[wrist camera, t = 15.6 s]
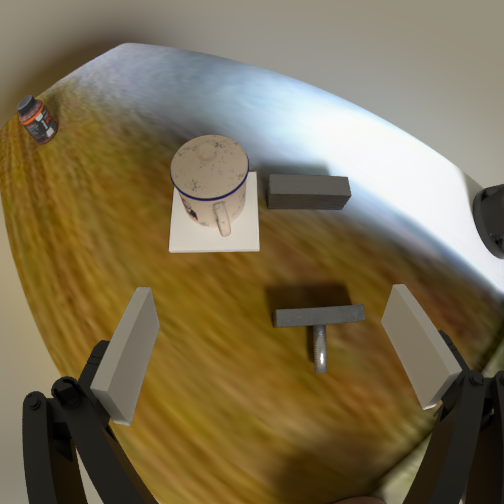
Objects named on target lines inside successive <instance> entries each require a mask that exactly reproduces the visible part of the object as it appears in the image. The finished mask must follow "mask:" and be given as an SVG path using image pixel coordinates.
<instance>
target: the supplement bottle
mask: <svg viewBox="0 0 504 504" xmlns="http://www.w3.org/2000/svg"><path fill="white" fill-rule="evenodd" d="M17 110H18V111H19V113H20V116H19V120H20V122H21V123H22V125H23V126H24V127H25V129H26V130H27V131H28V132H29V134H30V135H31V136H32V137H33V139H34V140H35V141H36V142H37V143H38V144H45V143H47V142H48V141H49V140H51V139H52V138H53V137H54V135H55V134H56V132H57V128H58V126H57V124H56V122H55V121H54V119H53V118H52V116H51V115H50V113H49V112H48V110H47V109H46V107H45V106H44V105H43V103H42V101H41V100H35V99H34V98H33V96H32V95H29V96H27V97H25V98H24V99H23V100H22V101H21V102H20V103H19V104H18V106H17Z"/></svg>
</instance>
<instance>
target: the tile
mask: <svg viewBox="0 0 504 504" xmlns="http://www.w3.org/2000/svg"><path fill="white" fill-rule="evenodd" d="M230 226H231V234H230V235H229V236H226V237H222V236H221V234H220V232H219V228H218V227H214V228H212V227H205V226H202V225H199V224H197V223H196V222H194V221H193V220H192V219H191V218H190V217H189V216H188V214H187V212H186V210H185V208H184V205H183V203H182V200H181V197H180V195H179V192H178V190H177V189H176V187H174V196H173V206H172V217H171V229H170V243H169V251H170V253H175V252H235V251H259V228H258V203H257V180H256V172H248V176H247V178H246V199H245V206H244V208H243V211H242V212H241V214H240V215H239V216H238V217H237V218H236V219H235V220H234V221H233V222H231V223H230Z"/></svg>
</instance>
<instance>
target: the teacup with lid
mask: <svg viewBox="0 0 504 504" xmlns="http://www.w3.org/2000/svg"><path fill="white" fill-rule="evenodd" d="M248 172H249V160H248V157H247V155H246V153H245V151H244V150H243V148H242V147H241V146H240V145H239V144H238V143H237V142H235V141H234V140H232V139H230V138H228V137H225V136H220V135H204V136H200V137H197V138H194V139H192V140H190V141H188V142H187V143H185V144H184V145H183V146H182V147H181V148H180V149H179V150H178V151H177V152H176V154H175V156H174V157H173V160H172V163H171V168H170V175H171V180H172V182H173V184H174V186H175V187H176V189H177V190H178V192H179V195H180V197H181V200H182V203H183V205H184V208H185V210H186V212H187V214H188V216H189V217H190V218H191V219H192V220H193V221H194V222H196V223H197V224H199V225H202V226H205V227H212V228H214V227H218V228H219V232H220V234H221V236H222V237H226V236H229V235H230V234H231V226H230V223H231V222H233V221H234V220H235V219H236V218H237V217H238V216H239V215H240V214H241V212H242V211H243V208H244V206H245V199H246V178H247V176H248Z"/></svg>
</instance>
